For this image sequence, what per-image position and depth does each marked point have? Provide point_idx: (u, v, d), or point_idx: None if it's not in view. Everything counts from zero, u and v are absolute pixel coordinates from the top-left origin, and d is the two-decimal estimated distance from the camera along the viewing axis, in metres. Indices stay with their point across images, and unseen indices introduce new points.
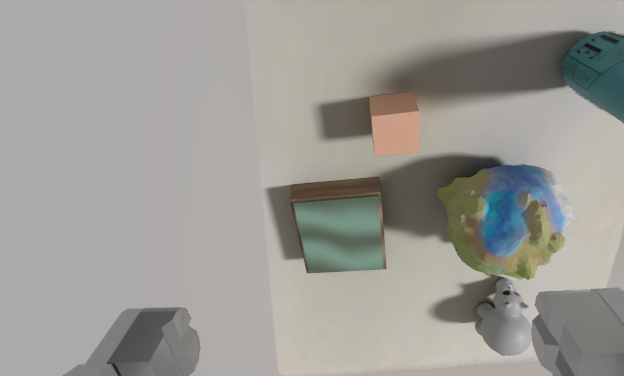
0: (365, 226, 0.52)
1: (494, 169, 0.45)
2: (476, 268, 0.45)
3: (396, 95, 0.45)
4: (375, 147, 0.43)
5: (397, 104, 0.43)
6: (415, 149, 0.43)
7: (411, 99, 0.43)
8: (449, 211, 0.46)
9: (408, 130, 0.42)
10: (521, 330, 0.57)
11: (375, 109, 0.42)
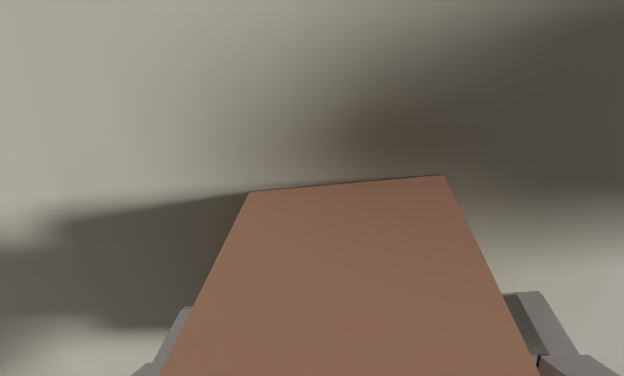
0: None
1: None
2: None
3: (370, 195, 0.09)
4: None
5: (368, 270, 0.07)
6: None
7: (453, 233, 0.07)
8: None
9: None
10: None
11: (220, 305, 0.06)
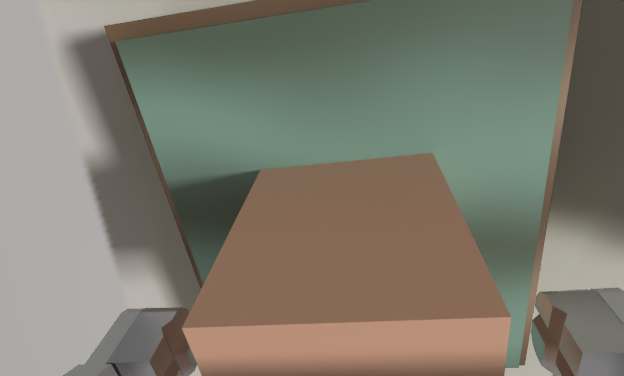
0: (469, 176, 0.11)
1: None
2: None
3: (368, 170, 0.10)
4: None
5: (365, 225, 0.08)
6: None
7: (437, 197, 0.09)
8: None
9: None
10: None
11: (241, 253, 0.08)
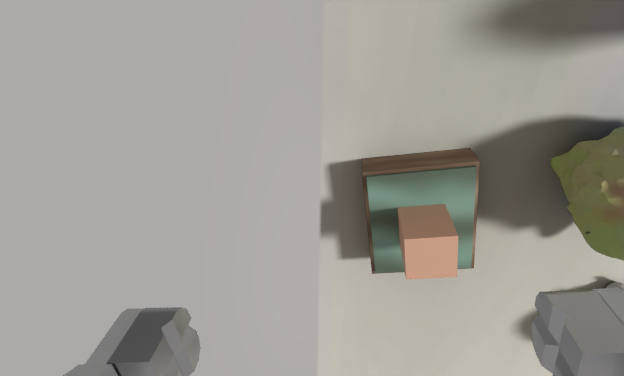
0: (454, 209, 0.41)
1: None
2: (621, 254, 0.34)
3: (428, 208, 0.41)
4: (406, 269, 0.38)
5: (431, 222, 0.39)
6: (452, 273, 0.38)
7: (446, 216, 0.39)
8: (578, 181, 0.35)
9: (445, 254, 0.37)
10: None
11: (407, 228, 0.38)
